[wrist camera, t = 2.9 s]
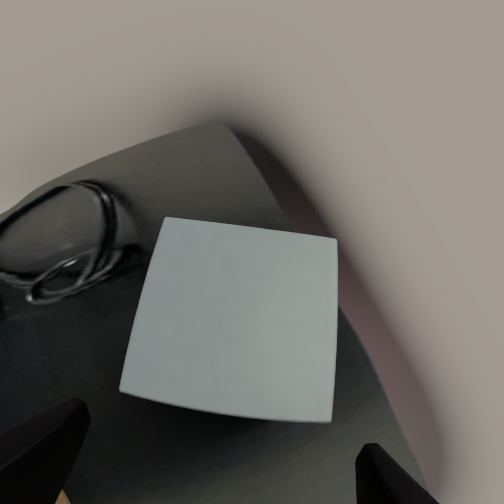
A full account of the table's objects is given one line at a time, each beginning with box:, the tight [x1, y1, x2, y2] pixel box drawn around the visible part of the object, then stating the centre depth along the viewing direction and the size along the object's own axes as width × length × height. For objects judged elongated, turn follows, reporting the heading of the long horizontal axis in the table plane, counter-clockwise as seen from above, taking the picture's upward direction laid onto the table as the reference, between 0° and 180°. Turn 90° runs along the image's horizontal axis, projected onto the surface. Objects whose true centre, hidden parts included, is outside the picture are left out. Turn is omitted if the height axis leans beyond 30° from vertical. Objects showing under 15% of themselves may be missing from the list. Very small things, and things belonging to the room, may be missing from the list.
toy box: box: [119, 217, 338, 423], centre depth 14 cm, size 6×6×12 cm
